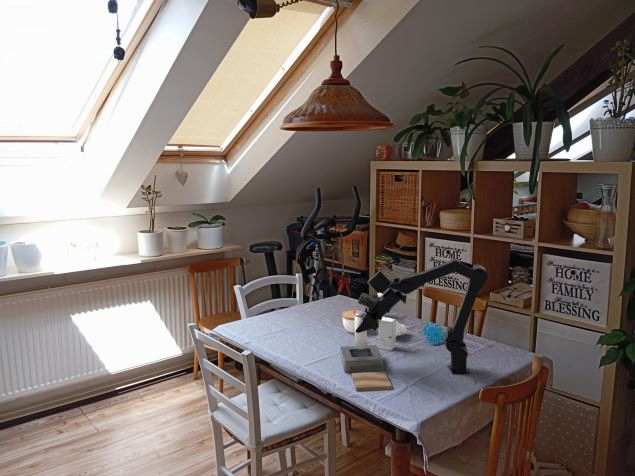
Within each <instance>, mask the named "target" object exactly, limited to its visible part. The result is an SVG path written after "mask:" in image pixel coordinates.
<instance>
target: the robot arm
mask: <svg viewBox="0 0 635 476" xmlns="http://www.w3.org/2000/svg"><path fill="white" fill-rule="evenodd" d="M453 273H457V274H458V275H461V276H463V277H465V278H467V285H466V291H465V293H464V295H463V298H462V301H461V304H460V306H459V309H458V312H457V314H456V317H455V320H454V322H453V324H452V325H451V326H449V325H447V326H446V333H445V334H444V340H443V342H444V343H445V349H446V350H447V351H449V352H450V365H448V364H447V367H446V368H447V369H448V370H449V372H450V373H452V374H453V375H458V374H470V373H471V370H470V369H469V368H468V367H467V366H468V355H469V350H468V346H467V344H466V343H465V342H464V337H465V329H466V327H467V324H468V321H469V318H470V316H471V313H472V310H473V307H474V305H475V302H476V300H477V297H478V294H480V293H479V292H481V291H482V289H483V287H484V286H485V285H486V282H487V281H488V279H489V276H488V275H489V274H488V273H487V270H486V268H485V267H484V266H483V265H481V264H472V263H469V262H466V261H463V260H460V259H458V258H452V259H451V260H448V261H446V262H444V263H441V264H439V265H436V266H433V267H431V268H427V269H426V270H423V271H420V272H413V273H408V274H403V275H401V276H400V277H395V278H389V277H388V275H386V274H385V272H384V271H382V270H381V269H380V270H378V271H377V272H376V273H375V274H373V275H372V276H371V277H370V278H369V279H368V281H367V282H366V283H367V285H369V286H370V287H371V288H372V289H373V290H374V291H375V292H377V293H380V294H381V293H382V294H383V295H382V296H381V297H378V298H377V299H375V298H373V297H372V296H370V294H368V293H365V292H361V294H360V296H359V298H358V301H357V303H358V304H359V305H363V306H365V308H364V312H366V314H365V315H363V321H362V323H361V324H360V325H359V327H358V328H357V329H356V331H355V332H356V333H360V332H363V331H366V330H367V331H368V330H372V331H378V330H379V320H381V319H382V317H383V316H384V315H385V316H386V314H389V313H390V312H391V310H392V309H393V308H394V307H395V306H397V304H398V303H400V301H401V302H402V303H403V304H407V297H408V295H410V294H411V293H413V292H415V291H416V290H418V289H419V288H421V286H423V285H425V284H427V283H430V282H432V281H435V280H438V279H440V278H442V277H446V276H447V275H450V274H453ZM368 307H369V308H368ZM385 316H384V317H385ZM377 318H378V319H379V320H378V319H377Z"/></svg>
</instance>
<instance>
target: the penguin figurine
mask: <svg viewBox="0 0 635 476" xmlns="http://www.w3.org/2000/svg"><path fill="white" fill-rule="evenodd" d="M406 332H407V326H406V325H404V324H401V323H400V322H398V320H396V335H395V338H396V337H397V336H399V335H400V336H405V334H406Z"/></svg>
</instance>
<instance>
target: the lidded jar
mask: <svg viewBox="0 0 635 476" xmlns="http://www.w3.org/2000/svg"><path fill="white" fill-rule="evenodd" d="M356 312H364V311H363V310H356V309H354V310H346V311H344V312H342V324H343V327H344V328H345V330H346V331H347V332H348V333H351V334H355V313H356Z"/></svg>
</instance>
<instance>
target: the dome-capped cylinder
mask: <svg viewBox="0 0 635 476" xmlns="http://www.w3.org/2000/svg"><path fill="white" fill-rule="evenodd" d="M365 314H366V312H365V311H363V312H356V313H355V331H356V329H357V328H358V327H359V325H360V324H361V323H362V321H363V315H365ZM367 331H368V330H366V331H363V332H360V333H356V332H355V333H354V346H355V348H356V349H365V348H367V345H368V334H367V333H368V332H367Z"/></svg>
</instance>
